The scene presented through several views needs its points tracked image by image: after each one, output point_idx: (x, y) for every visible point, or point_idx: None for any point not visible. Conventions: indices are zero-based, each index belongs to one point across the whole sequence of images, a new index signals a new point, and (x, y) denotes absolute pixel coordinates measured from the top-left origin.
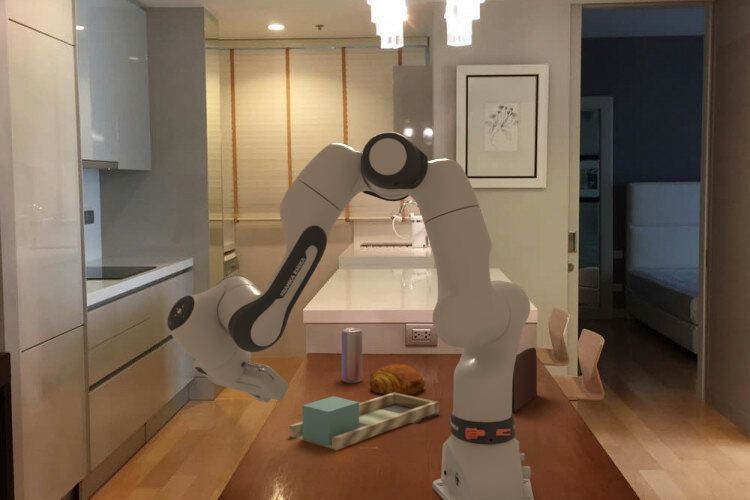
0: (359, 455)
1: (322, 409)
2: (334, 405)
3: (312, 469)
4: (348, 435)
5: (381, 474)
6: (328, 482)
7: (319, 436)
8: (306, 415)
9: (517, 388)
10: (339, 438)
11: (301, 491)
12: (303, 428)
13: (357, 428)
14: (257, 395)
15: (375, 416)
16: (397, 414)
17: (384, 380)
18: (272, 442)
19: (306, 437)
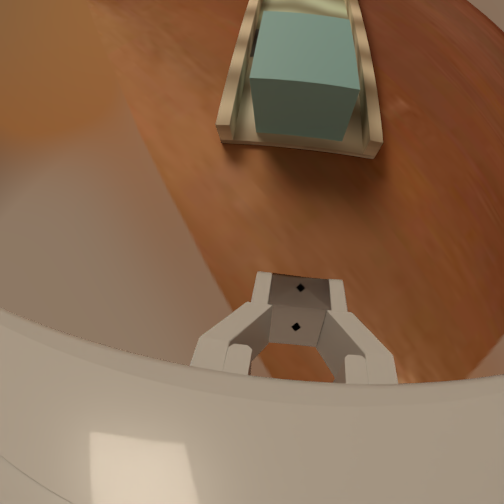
0: (416, 151)
1: (328, 80)
2: (325, 48)
3: (405, 274)
4: (378, 110)
5: (498, 220)
6: (466, 313)
7: (313, 128)
8: (267, 96)
9: None
10: (381, 134)
11: None
12: (256, 118)
13: (363, 75)
14: (274, 334)
15: (288, 8)
16: (351, 8)
17: None
18: (201, 181)
19: (268, 130)
